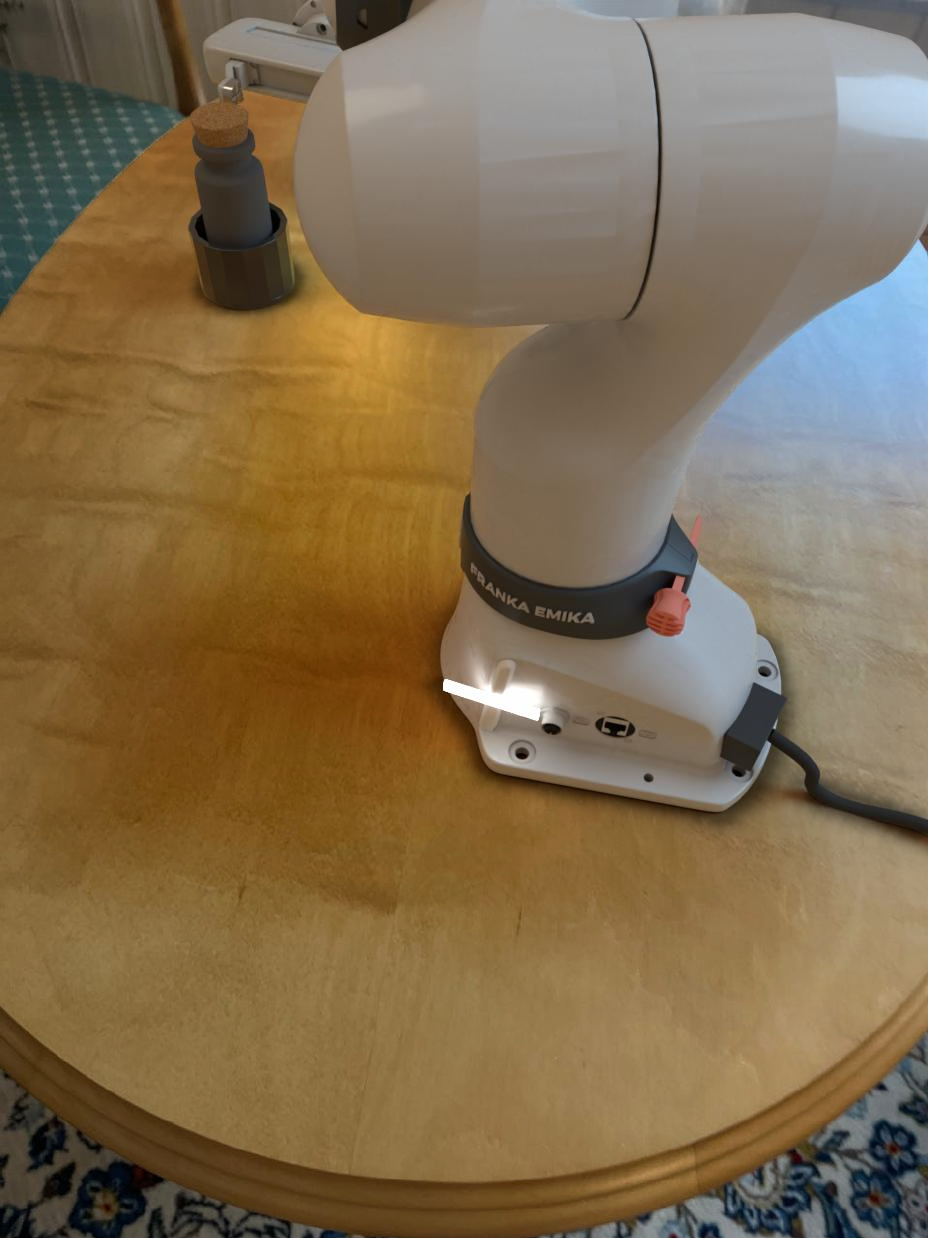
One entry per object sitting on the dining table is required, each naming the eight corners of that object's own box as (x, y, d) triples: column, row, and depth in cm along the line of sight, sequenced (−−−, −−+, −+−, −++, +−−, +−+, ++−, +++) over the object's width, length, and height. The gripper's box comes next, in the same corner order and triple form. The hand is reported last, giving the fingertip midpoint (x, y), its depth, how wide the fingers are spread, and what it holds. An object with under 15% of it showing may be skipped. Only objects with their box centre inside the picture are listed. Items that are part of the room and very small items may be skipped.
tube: (310, 269, 93) (303, 209, 88) (266, 319, 88) (256, 259, 83) (231, 248, 95) (220, 189, 90) (184, 296, 90) (169, 236, 85)
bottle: (267, 300, 89) (241, 135, 77) (206, 291, 90) (171, 127, 78) (287, 264, 92) (265, 102, 80) (228, 256, 93) (198, 94, 81)
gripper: (239, -13, 94) (163, 48, 87) (434, 26, 90) (372, 94, 83) (249, 56, 99) (178, 119, 92) (434, 96, 95) (376, 165, 88)
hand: (271, 107), depth 87 cm, fingers open, 8 cm apart
